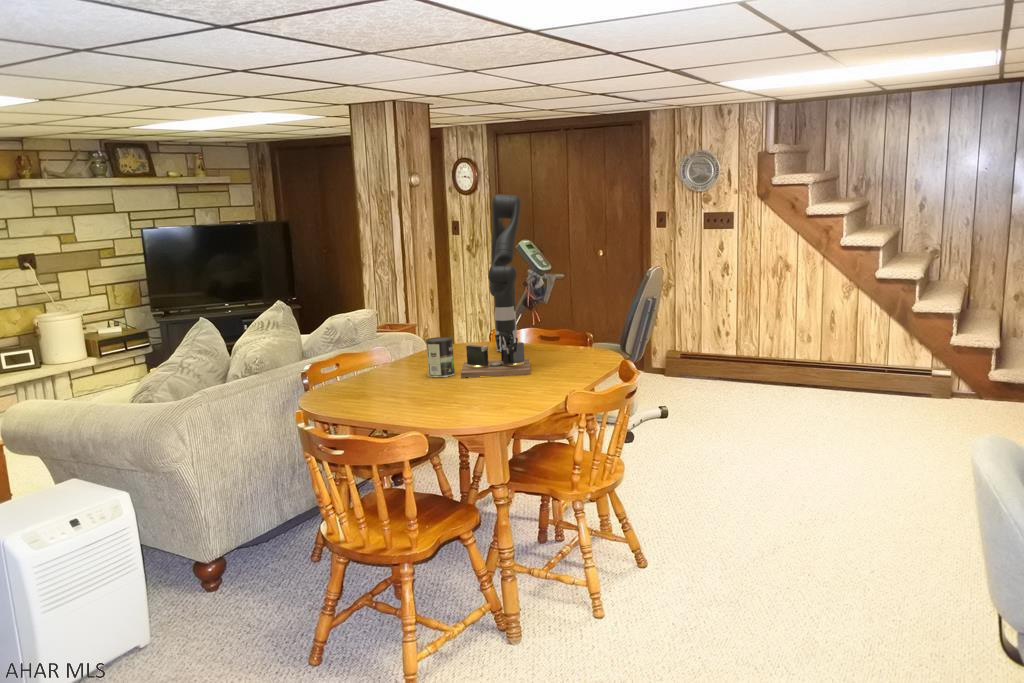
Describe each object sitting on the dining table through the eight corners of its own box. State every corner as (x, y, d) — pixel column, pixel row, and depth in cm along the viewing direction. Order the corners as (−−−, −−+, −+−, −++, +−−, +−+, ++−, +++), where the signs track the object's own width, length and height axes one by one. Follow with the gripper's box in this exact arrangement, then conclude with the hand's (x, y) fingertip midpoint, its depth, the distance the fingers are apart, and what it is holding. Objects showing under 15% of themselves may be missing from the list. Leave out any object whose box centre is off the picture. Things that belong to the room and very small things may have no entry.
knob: (515, 361, 320) (514, 341, 319) (529, 363, 314) (528, 342, 313) (498, 365, 314) (497, 344, 313) (512, 367, 308) (511, 346, 307)
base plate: (464, 366, 326) (464, 359, 325) (529, 363, 325) (528, 355, 325) (461, 378, 304) (460, 370, 303) (530, 374, 304) (530, 366, 303)
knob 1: (462, 367, 314) (461, 346, 313) (476, 363, 320) (475, 343, 319) (479, 369, 308) (478, 348, 307) (493, 365, 314) (492, 345, 313)
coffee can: (455, 371, 317) (453, 336, 315) (454, 377, 307) (451, 340, 305) (429, 373, 317) (426, 337, 315) (426, 378, 307) (424, 342, 305)
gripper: (523, 318, 305) (525, 363, 308) (504, 315, 318) (506, 358, 321) (505, 321, 302) (508, 366, 305) (487, 317, 314) (490, 361, 317)
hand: (507, 362), depth 313 cm, fingers open, 4 cm apart
